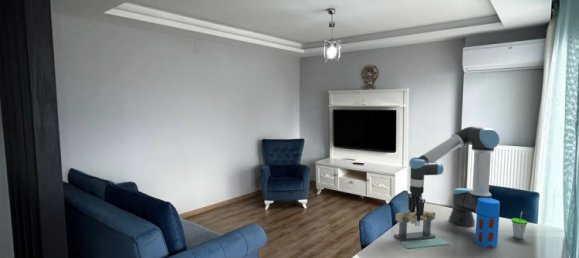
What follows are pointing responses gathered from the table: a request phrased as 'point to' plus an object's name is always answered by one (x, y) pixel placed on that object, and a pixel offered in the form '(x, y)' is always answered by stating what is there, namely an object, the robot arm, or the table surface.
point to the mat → (424, 243)
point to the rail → (413, 216)
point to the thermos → (487, 222)
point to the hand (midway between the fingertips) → (415, 224)
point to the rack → (416, 235)
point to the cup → (519, 227)
